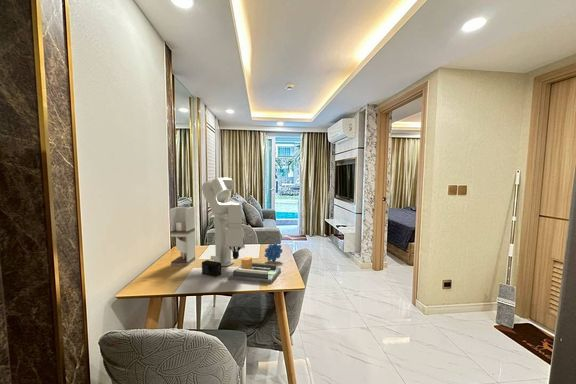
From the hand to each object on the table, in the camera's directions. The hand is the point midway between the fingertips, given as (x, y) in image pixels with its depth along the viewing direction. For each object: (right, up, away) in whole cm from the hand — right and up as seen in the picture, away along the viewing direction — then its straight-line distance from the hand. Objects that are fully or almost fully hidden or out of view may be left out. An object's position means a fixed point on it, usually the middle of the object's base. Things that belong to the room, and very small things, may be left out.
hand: (235, 258), depth 143 cm
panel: (+11, -9, -2) cm, 14 cm away
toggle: (+6, -6, -1) cm, 9 cm away
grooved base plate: (+11, -7, -2) cm, 13 cm away
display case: (-38, -8, +21) cm, 44 cm away
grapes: (+20, -8, +24) cm, 32 cm away
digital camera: (-14, -9, -1) cm, 17 cm away
